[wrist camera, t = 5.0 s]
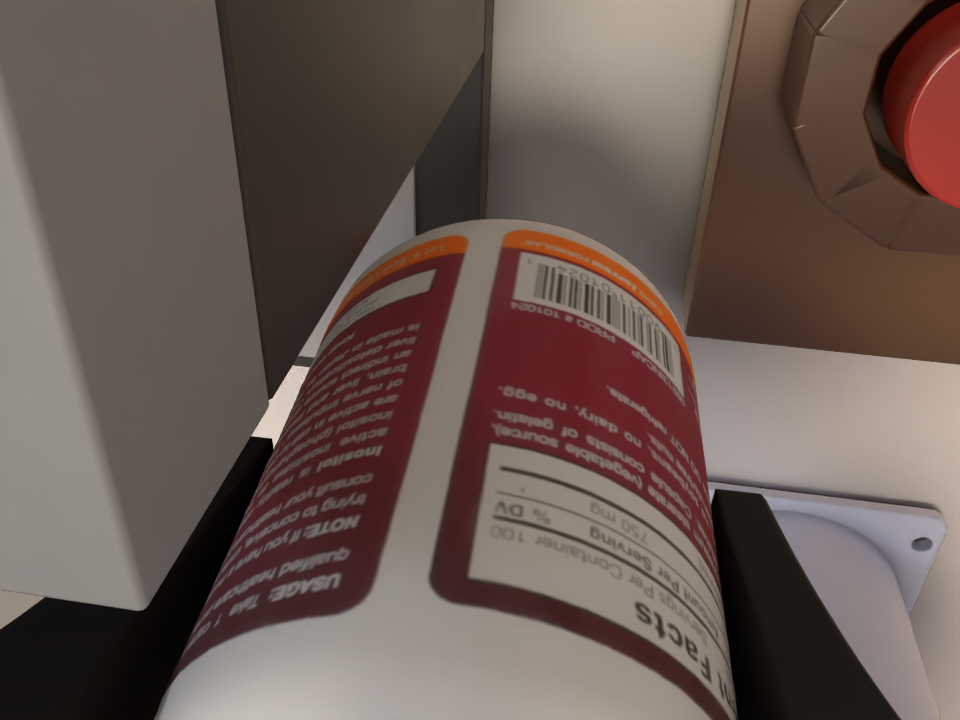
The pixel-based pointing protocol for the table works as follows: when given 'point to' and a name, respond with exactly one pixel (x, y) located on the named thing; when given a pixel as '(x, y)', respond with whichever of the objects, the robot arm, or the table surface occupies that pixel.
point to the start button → (928, 105)
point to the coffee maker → (197, 242)
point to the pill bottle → (477, 505)
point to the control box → (820, 192)
